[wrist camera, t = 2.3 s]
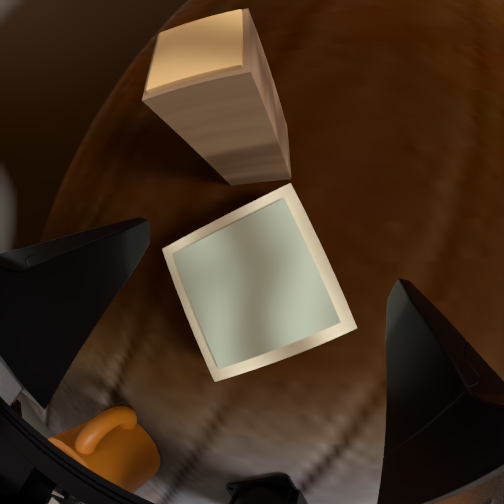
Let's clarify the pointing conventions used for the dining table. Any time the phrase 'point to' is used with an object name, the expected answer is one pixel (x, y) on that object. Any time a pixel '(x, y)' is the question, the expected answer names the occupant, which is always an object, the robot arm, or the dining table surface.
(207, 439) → the dining table surface
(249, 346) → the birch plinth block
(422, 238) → the dining table surface
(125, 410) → the mug
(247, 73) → the tan wooden block
